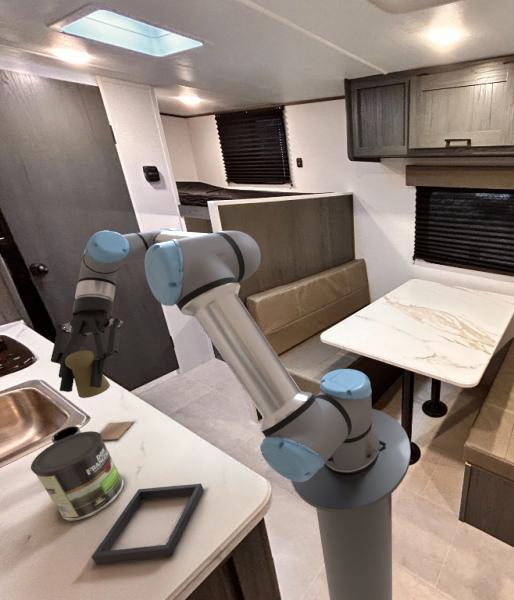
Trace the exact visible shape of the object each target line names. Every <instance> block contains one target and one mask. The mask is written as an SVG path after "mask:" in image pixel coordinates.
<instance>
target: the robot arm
mask: <svg viewBox="0 0 514 600" xmlns="http://www.w3.org/2000/svg"><path fill="white" fill-rule="evenodd" d="M261 257H262V255H261V250H260V247H259V245H258V243H257V242H256V240H255V239H254V238H253V237H252V236H250V235H249V234H247V233H246V232H243V231H239V230H221V231H216V232H212V233H205V232H204V233H203V232H192V231H191V232H189V231H180V230H179V229H178V228H175V227H170V228H169V227H168V228H166V227H165V228H160V229H154V230H148V231H142V232H134V233H126V234H121V233H119V232H117V231H111V230H101V231H98V232H97V231H96V232H95V233H94V234H93V235H92V236H91V237H90V239H89V240H88V241H87V242H86V246H85V249H84V250H83V253H82V256H81V259H80V261H81V263H80V269H79V274H78V280H77V284H76V289H75V295H74V298H75V299H74V301H73V307H72V318H71V319H70V320H69V322H66V323H64V324H61V323H57V324H56V325H55V327H54V328H55V331H56V335H55V339H54V344H53V348H52V353H51V357H50V362H51V363H54V364H57V365H59V371H58V378H60V384H59V392H65V393H70V392H71V393H72V392H73V386H74V383H75V380H74V376H73V372H72V369H70V368H68V367H67V366H66V364H65V359H66V357H67V356H69V355H70V354H72V353H75V352H78V351H80V349H81V347H82V345H83V343H84V341H85V340H87V338H88V337H89V336H91V335H92V336H93V340H94V344H95V349H96V350H95V351H96V355H97V356H95V360H94V361H93V368H92V375H91V381H90V387H95V388H100V387H101V383H102V376H103V375H104V374H105V373H107V371H108V366H109V361H110V359H113V358H118V357H119V354H120V342H121V334H122V333H121V332H122V328H123V326H124V325H125V322H124V321H123V320H122V319H120V318H117V317H115V318H113V317H112V314H113V310H114V301H115V294H116V287H117V280H118V274H119V270H120V269H121V267H122V266H123V265H126V264H131V263H136V262H141V261H144V271H145V277H146V281H147V284H148V287H149V289H150V291H151V293H152V295H153V296H154V298H155V299H156V301H157V302H159V303H160V304H161V305H163V306H166V307H174V306H175V305H176V307H177V308H178V310H179V311H180V312H181V314H182V315H185V316H190V317H194V318H195V319H196V320H197V322H198V324H199V325H200V326H201V328H202V329H203V331H204V333H205V334H206V335H207V337H208V338H209V340H210V342H211V343H212V344H213V345H214V347H215V349H216V350H217V351H218V353H219V354H220V356H221V358H222V359H223V361H224V362H225V364H226V365H227V366H228V368H229V370H230V371H231V372H232V374H233V376H234V377H235V378H236V380H237V382H238V383H239V384H240V386H241V387H242V389H243V390H244V391H245V393H246V395H247V396H248V398H249V399H250V401H251V402H252V403H253V406H255V408H256V410H257V411H258V413H259V414H260V415H261V417H262V419H261V425H260V432H261V433H262V434H263V436H264V438H263V439H262V441H261V443H260V448H259V449H260V450H259V451H260V452H261V456H262V458H263V459H264V461H265V462H266V463H267V465H268V466H269V467H270V468H271V469H272V470H274V471H275V472H276V473H277V474H279V475H280V476H281V477H283V478H285V479H287V480H290V481H291V480H292V481H295V482H304V481H307V480H309V479H310V478H311V477H312V476H313V475H314V474H315V473H316V472H317V471H318V470H319V469H321V468H322V467H323V466H324V465H325V466H326V467H327V468H328V469H329V470H330V471H332V472H334V473H336V474H340V475H354V474H358V473H360V472H363V471H365V470H366V469H368V468H369V467H370V466H371V465H372V464H373V463H374V462H375V461H376V459H377V457H378V455H379V452H380V444H381V445H383V446H386V443H384V442H382V441H380V440H379V437H378V434H377V432H376V430H375V428H374V426H373V424H372V409H373V408H372V407H373V406H372V392H373V391H372V387H371V381H370V378H369V377H368V376H367V374H365V373H364V372H363V371H359V370H357V369H353V368H339V369H336V370H331V371H330V372H327V373H326V374H325V375H323V377H322V378H321V379H320V385H319V388H320V391H319V393H318V394H317V395H315V396H314V395H313V393H312V392H311V391H304V390H301V388H300V387H299V385H297V383H296V381H295V379H294V378H293V377H292V376H291V374H290V372H289V371H288V369H287V367H286V366H285V365H284V363H283V362H282V360H281V358H280V357H279V356H278V354H277V353H276V351H275V349H274V348H273V347H272V345H271V343H270V342H269V340H268V339H267V337H266V336H265V334H264V333H263V331H262V329H260V327H259V325H258V324H257V323H256V321H255V320H254V318H253V316H252V314H250V312H249V310H248V309H247V308H246V306H245V304H244V303H243V301H242V300H241V298H240V297H239V293H240V289H241V284H240V282H243V281H246V280H247V279H249V278H251V277H252V276H253V275H254V274H255V272H256V271H257V270H258V268H259V266H260V263H261ZM108 326H109V330H108V341H107V338H106V337H107V332H106V329H107V327H108ZM72 328H73V331H72ZM70 336H71V337H70Z"/></svg>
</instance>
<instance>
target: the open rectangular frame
mask: <svg viewBox="0 0 514 600" xmlns="http://www.w3.org/2000/svg"><path fill="white" fill-rule="evenodd" d="M204 492H205V490H204V487H203V484H202V483H192V484H181V485H180V484H179V485H170V486H159V487H158V486H157V487H149V488H148V487H147V488H138V489H137V490H136V492H135V494H134V495H133V496H132V498H131V499H130V500H129V502H128V504H127V505H126V506H125V508H124V510H123V511H122V512H121V514H120V515H119V517H118V518H117V519H116V521H115V522H114V524H112V526H111V527H110V529H109V531H108V532H107V534H106V535H105V537H104V538H103V539H102V541H101V542H100V544H99V545H98V547H97V548H96V549H95V551H94V552H93V553H92V555H91V559H92V561H93V562H94V563H95V565H96V566H100V565H108V564H116V563H117V564H118V563H125V562H126V563H128V562H134V561H144V560H155V559H162V558H172V557H173V555H174V553H175V551H176V548H177V546H178V544H179V543H180V541H181V539H182V536H183V534H184V532H185V530H186V529H187V526H188V525H189V522H190V520H191V518H192V516H193V514H194V512H195V510H196V508H197V507H198V505H199V503H200V500H201V498H202V496H203V494H204ZM189 496H190V497H189ZM177 497H178V498H179V497H189V499H188V501H187V503H186V505H185V507H184V509H183V511H182V513H181V515H180V517H179V518H178V521H177V522H176V524H175V526H174V528H173V530H172V532H171V534H170V535H169V537H168V539H167V542H166V544H159V545H158V544H157V545H149V546H140V547H129V548H120V549H112V548H113V547H114V545H115V544H116V542H117V541H118V539H119V538H120V537H121V535H122V533H123V531H124V530H125V529H126V527H127V525H128V524H129V522H130V521H131V519H132V518H133V516H135V513H136V512H137V510H138V509H139V508H140V506H141V504H142V503H143V502H144V501H145V500H154V499H155V500H156V499H157V500H158V499H166V498H167V499H168V498H177Z"/></svg>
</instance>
